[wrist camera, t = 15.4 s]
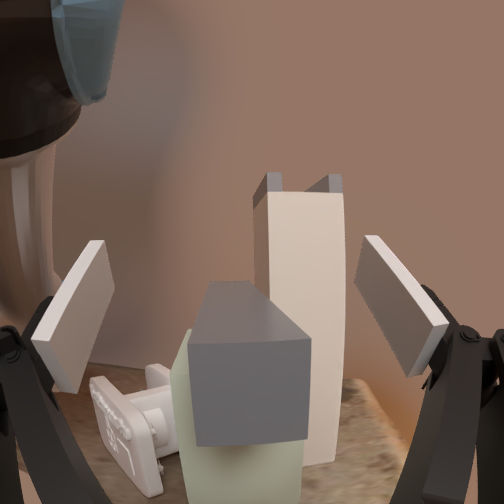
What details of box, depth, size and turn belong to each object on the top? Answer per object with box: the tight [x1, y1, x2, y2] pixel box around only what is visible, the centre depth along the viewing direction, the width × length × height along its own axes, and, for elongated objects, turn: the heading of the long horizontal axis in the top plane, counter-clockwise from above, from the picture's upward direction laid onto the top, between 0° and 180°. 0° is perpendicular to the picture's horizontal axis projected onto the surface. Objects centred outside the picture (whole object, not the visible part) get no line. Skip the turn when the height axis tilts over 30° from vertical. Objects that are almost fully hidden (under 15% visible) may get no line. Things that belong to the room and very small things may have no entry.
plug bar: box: [187, 281, 312, 447], centre depth 19 cm, size 4×20×4 cm, turn 6°
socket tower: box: [253, 172, 346, 467], centre depth 39 cm, size 8×14×34 cm, turn 6°
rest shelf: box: [169, 329, 304, 504], centre depth 20 cm, size 7×10×20 cm
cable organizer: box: [89, 363, 180, 498], centre depth 32 cm, size 15×11×12 cm
